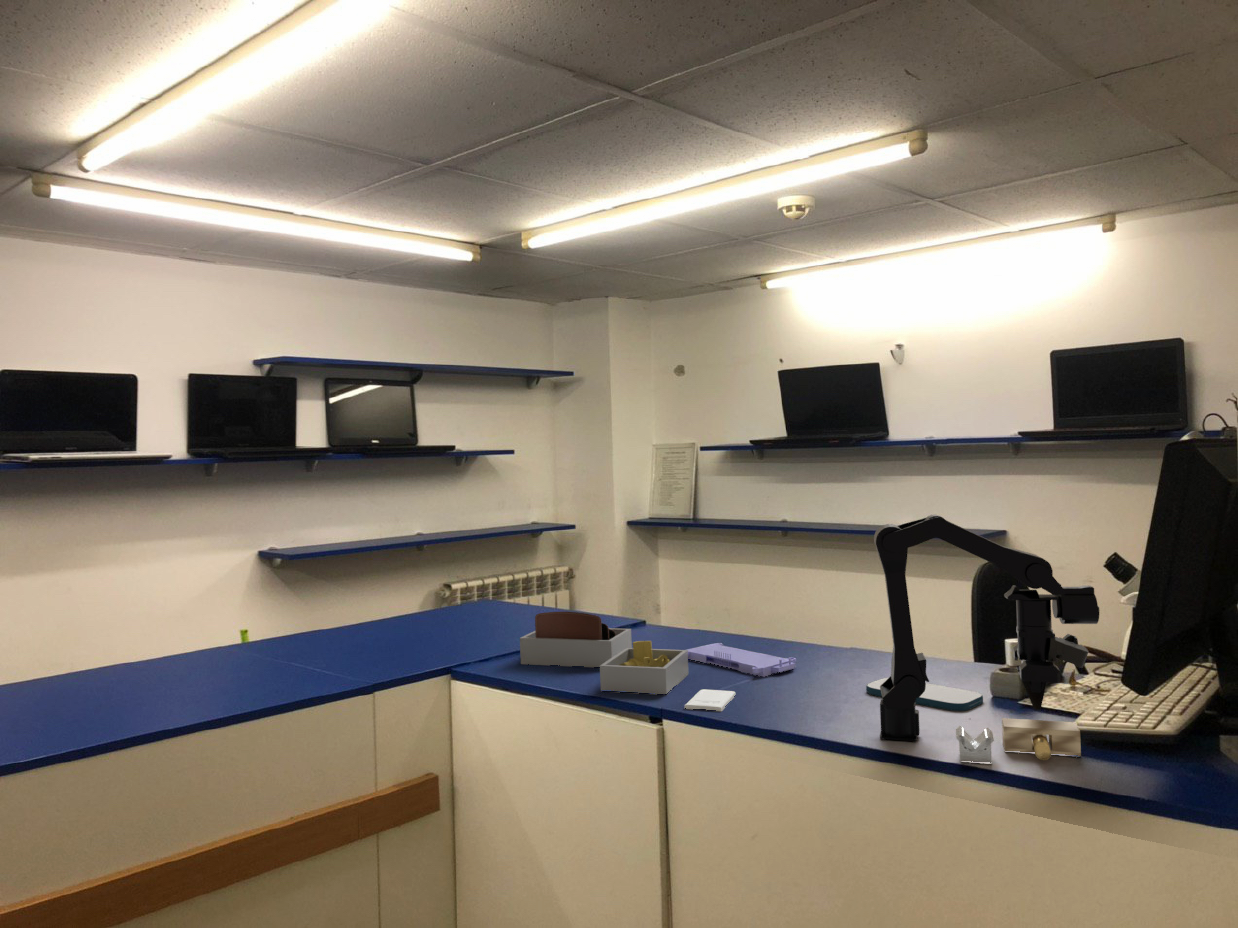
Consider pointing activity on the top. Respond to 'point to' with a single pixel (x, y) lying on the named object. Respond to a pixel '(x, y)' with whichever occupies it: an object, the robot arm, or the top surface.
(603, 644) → the holder tray
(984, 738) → the v block
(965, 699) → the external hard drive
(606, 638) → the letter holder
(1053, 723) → the beam
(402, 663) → the top surface
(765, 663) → the computer part
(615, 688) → the tray
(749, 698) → the top surface
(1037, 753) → the axle
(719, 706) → the external hard drive
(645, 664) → the ball valve
